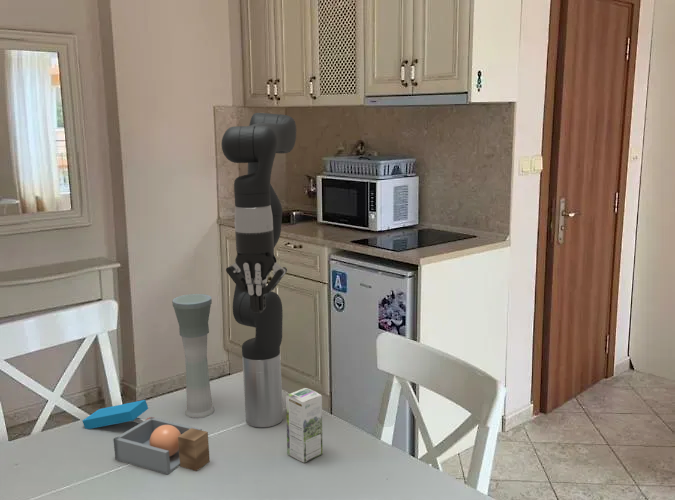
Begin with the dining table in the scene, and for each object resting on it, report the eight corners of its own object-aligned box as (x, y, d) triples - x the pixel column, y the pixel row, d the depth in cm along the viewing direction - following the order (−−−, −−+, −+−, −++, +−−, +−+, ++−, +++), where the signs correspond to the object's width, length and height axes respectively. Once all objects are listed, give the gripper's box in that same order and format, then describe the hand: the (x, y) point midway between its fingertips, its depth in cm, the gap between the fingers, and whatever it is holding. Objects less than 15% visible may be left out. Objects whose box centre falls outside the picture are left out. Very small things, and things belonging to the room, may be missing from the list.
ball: (192, 436, 150) (182, 457, 153) (174, 414, 153) (164, 435, 156) (167, 447, 144) (157, 468, 148) (148, 424, 148) (139, 445, 151)
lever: (91, 447, 167) (151, 436, 161) (82, 420, 166) (142, 408, 160) (108, 434, 173) (166, 423, 168) (99, 409, 173) (157, 397, 167)
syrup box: (306, 445, 155) (304, 386, 152) (323, 454, 151) (322, 393, 148) (287, 455, 151) (284, 394, 148) (304, 464, 147) (302, 401, 144)
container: (214, 419, 169) (207, 304, 163) (176, 420, 169) (167, 304, 163) (221, 403, 179) (214, 293, 173) (185, 404, 179) (177, 294, 173)
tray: (203, 449, 154) (201, 429, 153) (167, 474, 144) (165, 452, 143) (153, 436, 161) (151, 417, 160) (115, 459, 151) (113, 438, 150)
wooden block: (209, 461, 149) (207, 431, 148) (196, 471, 145) (194, 440, 144) (193, 457, 151) (191, 427, 150) (180, 466, 147) (177, 436, 146)
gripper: (292, 225, 136) (295, 309, 140) (232, 224, 140) (237, 305, 144) (277, 232, 129) (281, 319, 133) (215, 230, 133) (220, 315, 137)
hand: (258, 311), depth 138 cm, fingers closed
